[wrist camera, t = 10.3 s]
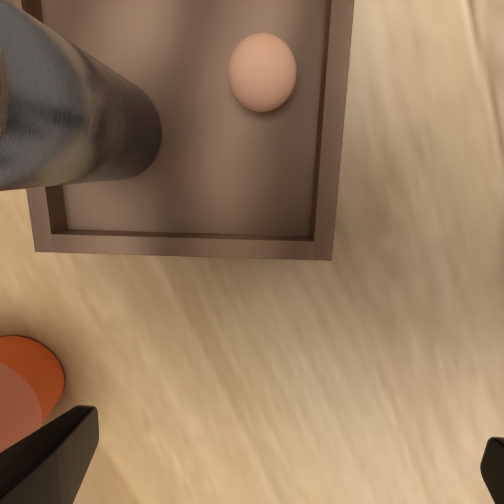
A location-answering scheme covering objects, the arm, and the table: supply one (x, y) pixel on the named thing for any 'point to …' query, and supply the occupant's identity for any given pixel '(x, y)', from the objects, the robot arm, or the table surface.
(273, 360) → the table surface
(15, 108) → the shaker
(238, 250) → the tray
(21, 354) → the cup with straw
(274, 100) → the ball
